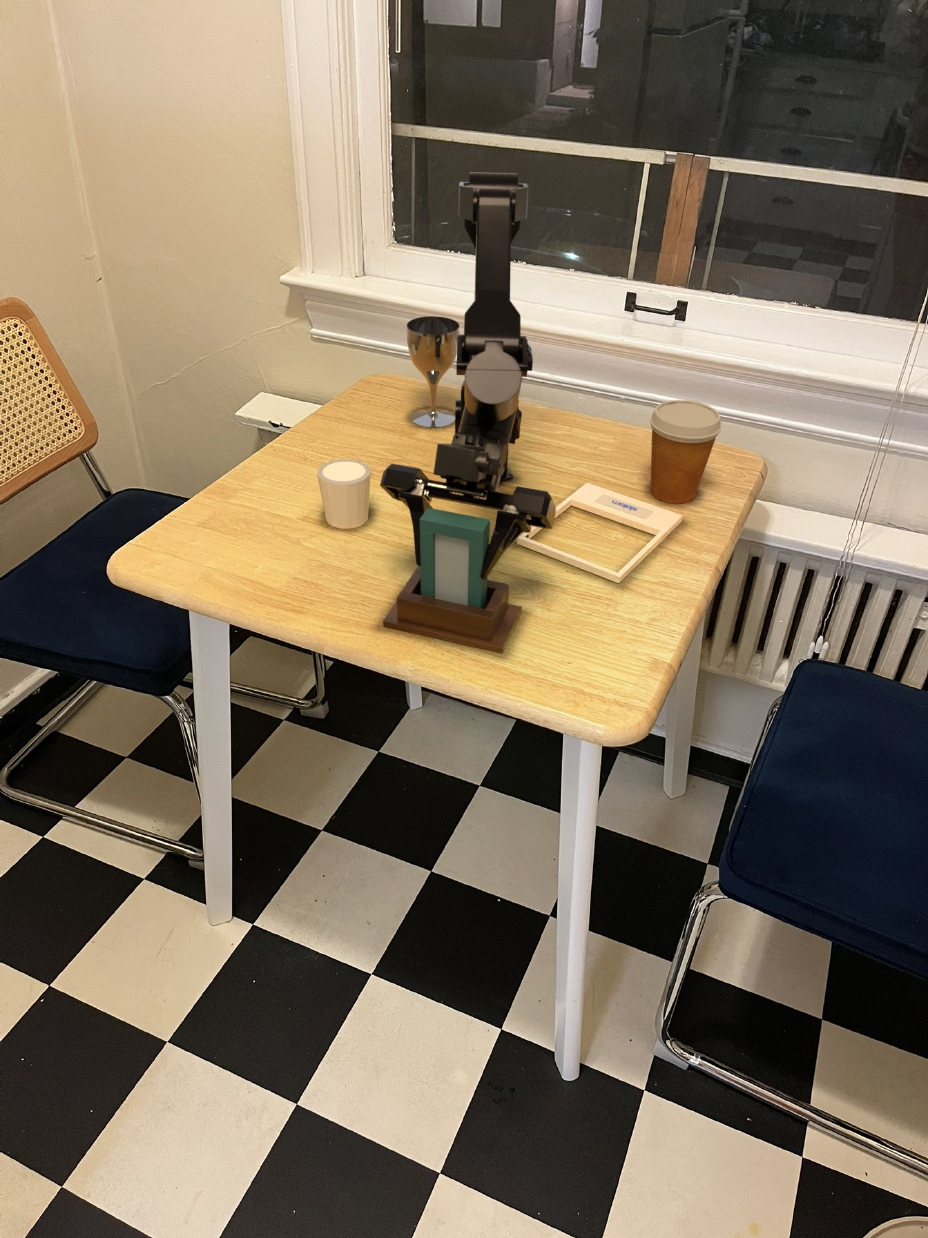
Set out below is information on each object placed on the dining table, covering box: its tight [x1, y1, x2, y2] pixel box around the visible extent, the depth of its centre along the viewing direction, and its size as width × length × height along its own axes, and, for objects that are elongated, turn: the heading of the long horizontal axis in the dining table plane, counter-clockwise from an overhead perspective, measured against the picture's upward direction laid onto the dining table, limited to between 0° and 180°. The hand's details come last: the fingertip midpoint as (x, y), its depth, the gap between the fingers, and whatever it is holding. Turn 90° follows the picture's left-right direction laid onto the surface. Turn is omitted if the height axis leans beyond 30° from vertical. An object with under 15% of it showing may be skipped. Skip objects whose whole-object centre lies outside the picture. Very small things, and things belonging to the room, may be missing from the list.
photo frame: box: [516, 482, 684, 584], centre depth 118 cm, size 15×1×18 cm
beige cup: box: [316, 458, 372, 530], centre depth 119 cm, size 7×7×7 cm
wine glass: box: [406, 315, 460, 429], centre depth 141 cm, size 8×8×15 cm
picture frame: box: [420, 507, 491, 609], centre depth 99 cm, size 2×7×12 cm, turn 71°
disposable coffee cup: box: [649, 399, 723, 504], centre depth 124 cm, size 10×10×12 cm
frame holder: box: [382, 565, 523, 654], centre depth 102 cm, size 8×14×4 cm, turn 72°
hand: (449, 571), depth 98 cm, fingers closed on picture frame, 7 cm apart
